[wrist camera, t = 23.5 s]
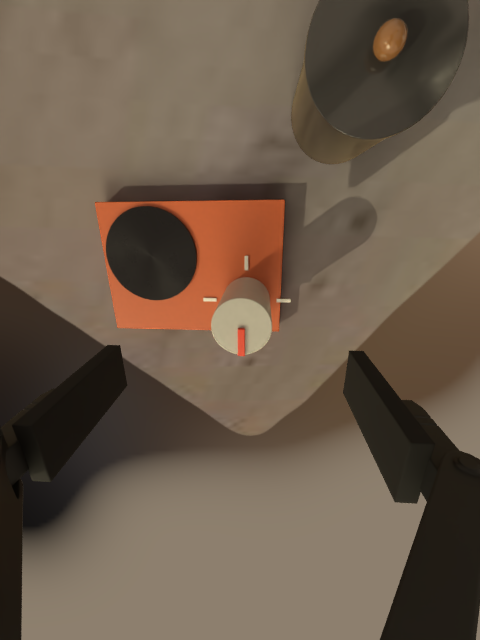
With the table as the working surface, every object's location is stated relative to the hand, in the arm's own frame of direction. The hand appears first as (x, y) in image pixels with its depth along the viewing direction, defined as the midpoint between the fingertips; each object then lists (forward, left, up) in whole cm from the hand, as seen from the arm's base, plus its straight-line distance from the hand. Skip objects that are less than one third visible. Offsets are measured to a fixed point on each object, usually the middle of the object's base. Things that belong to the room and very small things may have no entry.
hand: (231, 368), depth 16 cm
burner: (+9, -5, -14) cm, 17 cm away
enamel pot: (-8, -17, -16) cm, 24 cm away
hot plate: (+5, -3, -16) cm, 17 cm away
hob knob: (0, 0, -13) cm, 13 cm away
